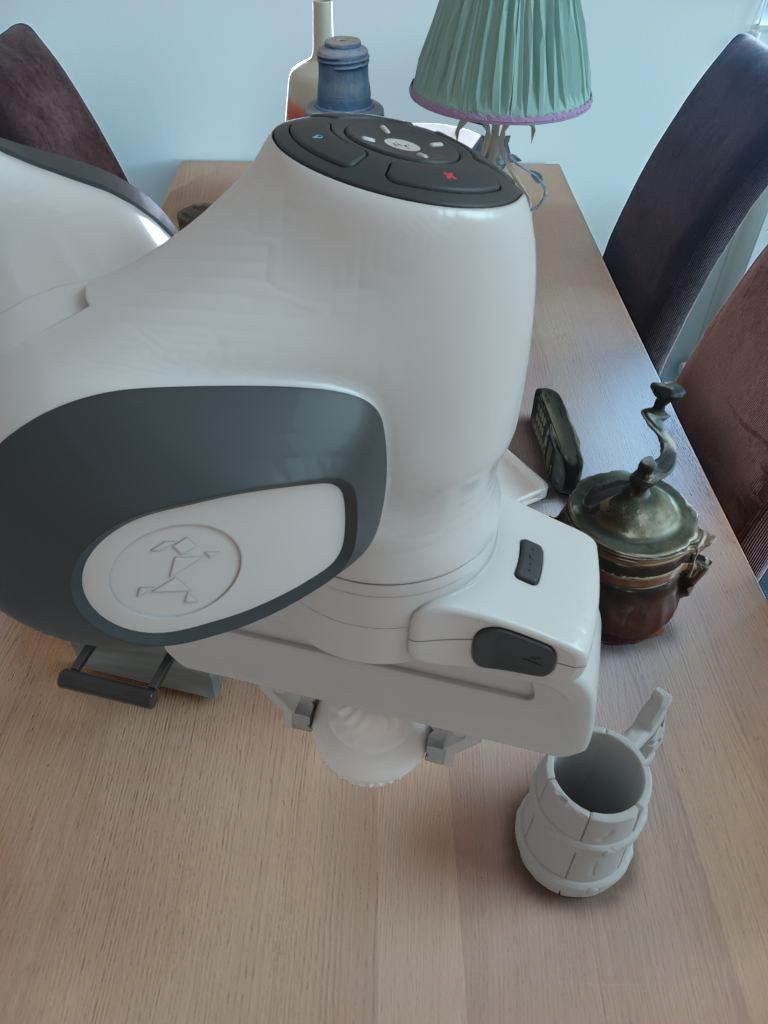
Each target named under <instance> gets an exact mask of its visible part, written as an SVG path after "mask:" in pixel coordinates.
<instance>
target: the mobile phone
mask: <svg viewBox="0 0 768 1024" xmlns="http://www.w3.org/2000/svg"><path fill="white" fill-rule="evenodd" d="M534 391H535V392H534V395H533V400H532V408H531V413H530V424H531V427H532V428H533V430H534V434H535V436H536V440H537V442H538V443H537V444H538V445H539V448H540V451H541V454H542V457H543V462H544V468H545V473H546V475H547V478H548V480H549V482H550V483H551V484H552V485H553V486H554V488H555V490H556V491H557V492H558V493H560V494H565V495H566V494H567V495H569V496H570V495H571V493H572V491H573V490H575V488H576V485H577V483H578V482H579V481H580V480H582V475H583V470H584V458H583V455H582V452H581V441H580V437H579V435H578V433H577V430H576V427H575V425H574V424H573V422H572V420H571V417H570V415H569V411H568V409H567V407H566V405H565V403H564V400H563V398H562V396H561V395H560V394H559V393H558V392H557V391H555V390H554V389H552V388H548V387H538V388H536V389H535V390H534Z"/></svg>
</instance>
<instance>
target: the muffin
mask: <svg viewBox="0 0 768 1024" xmlns="http://www.w3.org/2000/svg"><path fill="white" fill-rule="evenodd" d="M430 731H431V726H428V725H424V724H419V723H415V722H411V721H407V720H403V719H399V718H394V717H390V716H386V715H382V714H378V713H374V712H369V711H365V710H361V709H357V708H353V707H349V706H344V705H340V704H336V703H332V702H328V701H323V700H320V701H319V703H318V705H317V707H316V710H315V713H314V716H313V722H312V732H311V733H312V737H313V738H312V739H313V742H314V744H315V747H316V750H317V752H318V753H319V755H320V757H321V758H322V760H323V761H324V763H325V764H326V765H327V766H328V767H329V770H330V771H331V772H334V773H335V774H337V777H338V778H340V779H343V780H345V781H347V782H348V783H349V784H350V785H354V786H357V787H361V788H363V789H364V788H366V787H368V789H372V788H375V789H378V788H381V787H385V786H388V785H393V783H395V782H397V781H400V780H402V779H403V777H404V776H406V775H409V774H410V773H411V771H413V770H414V769H415V768H416V767H417V766H418V765H419V764H420V762H421V761H422V759H423V758H424V757H425V755H426V747H427V742H428V738H429V734H430Z"/></svg>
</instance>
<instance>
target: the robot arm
mask: <svg viewBox="0 0 768 1024" xmlns="http://www.w3.org/2000/svg"><path fill="white" fill-rule="evenodd" d="M412 123H413V122H411V121H407V120H403V119H399V118H393V117H389V116H384V117H383V116H377V115H370V114H362V113H344V112H328V113H315V114H311V115H310V116H307V117H301V118H296V119H292V120H288V121H285V120H284V121H283V122H282V123H280V124H278V125H276V126H275V127H274V128H273V129H272V130H270V132H269V134H268V135H267V136H266V138H265V140H264V142H263V143H262V145H261V147H260V149H259V151H258V153H257V154H256V157H254V159H253V160H252V161H251V163H250V164H249V166H248V168H246V170H245V171H244V172H243V173H242V174H241V176H240V177H238V178H237V180H236V181H235V182H233V184H232V185H231V186H230V187H229V188H228V189H226V190H225V191H224V192H223V193H222V194H221V195H220V196H219V197H218V198H217V199H216V200H215V201H214V202H213V203H211V204H212V205H211V206H210V207H209V208H208V209H207V210H206V211H205V212H203V213H202V214H201V215H200V216H198V217H197V218H196V219H195V220H194V221H192V222H191V223H190V224H189V225H187V226H186V227H185V228H183V229H182V230H181V231H180V230H179V229H177V226H176V225H175V224H174V223H173V222H172V220H171V219H170V217H169V216H168V215H167V214H166V213H165V212H164V210H163V209H162V208H161V207H160V206H159V205H158V204H157V203H155V201H153V200H152V199H151V198H150V196H148V195H147V194H145V193H144V192H143V191H141V189H140V188H138V187H137V186H134V185H133V184H132V183H130V182H129V181H126V180H125V179H123V178H121V177H119V176H117V175H115V174H113V173H111V172H110V171H107V170H104V169H103V168H100V167H98V166H95V165H92V164H89V163H87V162H84V161H81V160H77V159H75V158H72V157H68V156H65V155H61V154H58V153H54V152H50V151H47V150H44V149H43V150H42V149H39V148H36V147H32V146H29V145H26V144H22V143H19V142H16V141H13V140H10V139H7V138H4V137H1V136H0V612H2V613H3V614H5V615H6V616H8V617H9V618H11V619H13V620H15V621H17V622H18V623H20V624H22V625H24V626H25V627H27V628H30V629H33V630H35V631H37V632H39V633H41V634H45V635H47V636H51V637H55V638H56V639H60V640H63V641H66V642H70V643H71V642H75V643H80V644H85V645H91V646H98V647H107V648H126V649H128V648H150V647H161V646H164V647H165V649H166V651H167V652H168V653H169V654H170V655H171V656H172V657H173V658H174V659H175V660H176V661H177V662H179V663H180V664H181V665H183V666H184V667H187V668H190V669H194V670H198V671H203V672H207V673H211V674H215V675H219V677H224V678H228V679H232V680H236V681H241V682H244V683H248V684H249V683H250V684H253V685H257V686H258V689H259V690H260V691H261V693H263V694H264V695H265V696H266V697H267V698H268V700H270V701H271V702H272V703H273V704H274V705H275V706H276V707H277V708H278V709H279V710H280V711H282V717H283V726H284V727H286V728H290V729H291V728H292V729H296V730H300V731H304V732H309V733H313V732H312V722H313V716H314V713H315V710H316V707H317V705H318V703H319V701H320V700H323V701H328V702H332V703H336V704H340V705H344V706H349V707H353V708H357V709H361V710H365V711H369V712H374V713H378V714H382V715H386V716H390V717H394V718H399V719H403V720H407V721H411V722H415V723H419V724H424V725H428V726H431V731H430V734H429V738H428V742H427V747H426V753H425V755H424V761H426V762H430V763H434V764H438V765H442V766H445V767H449V768H453V767H454V763H455V762H454V761H455V758H456V754H459V753H461V752H463V751H466V750H467V749H469V748H471V747H475V746H477V745H478V744H481V743H482V740H485V741H486V740H487V741H491V742H495V743H499V744H503V745H507V746H512V747H515V748H520V749H523V750H528V751H531V752H535V753H541V754H544V755H546V754H547V755H551V756H556V757H567V756H571V755H574V754H577V753H580V752H583V751H585V750H586V749H587V747H588V745H589V742H590V739H591V736H592V732H593V728H594V726H595V721H596V713H597V704H598V693H599V683H600V681H599V680H600V667H601V648H602V647H601V645H602V641H601V616H600V612H599V593H600V574H599V560H598V551H597V545H596V543H595V541H594V540H593V539H592V538H591V537H590V536H588V535H587V534H585V533H583V532H581V531H579V530H577V529H575V528H573V527H571V526H569V525H566V524H564V523H562V522H560V521H558V520H555V519H553V518H551V517H552V516H551V517H549V516H550V515H547V514H545V513H543V512H541V511H539V510H536V509H535V508H532V507H530V506H529V505H525V504H523V503H521V502H519V501H517V500H515V499H513V498H512V497H510V496H508V495H506V494H505V493H503V492H501V491H500V485H499V479H498V475H497V468H498V464H499V462H500V460H501V458H502V457H503V455H504V453H505V452H506V450H507V449H508V448H509V446H510V444H511V442H512V440H513V437H514V435H515V434H516V430H517V426H518V422H519V417H520V412H521V407H522V401H523V396H524V391H525V385H526V379H527V372H528V367H529V362H530V352H531V347H532V345H531V343H532V337H533V327H534V319H535V318H534V317H535V307H536V294H537V293H536V292H537V249H536V246H537V245H536V246H535V240H536V235H535V230H534V222H533V221H532V220H533V214H532V215H531V211H530V207H529V203H528V201H527V198H526V196H525V194H523V192H522V191H521V190H520V189H519V187H518V186H517V184H516V182H515V180H514V179H513V177H512V176H510V175H509V173H507V172H506V171H504V169H503V170H502V169H501V168H499V167H498V166H497V165H495V164H494V163H493V162H491V161H490V160H489V159H487V158H486V157H484V156H483V155H481V154H480V153H478V152H477V151H475V150H473V149H472V148H470V147H468V146H467V145H465V144H463V143H461V142H459V141H458V140H456V139H454V138H452V137H450V136H448V135H446V134H444V133H442V132H439V131H436V132H435V131H432V130H429V129H426V128H422V127H419V126H416V125H415V126H414V125H413V124H412Z"/></svg>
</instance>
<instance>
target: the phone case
mask: <svg viewBox="0 0 768 1024" xmlns="http://www.w3.org/2000/svg"><path fill="white" fill-rule="evenodd" d="M497 475H498V479H499V485H500V491H501V492H503V493H505V494H506V495H508V496H510V497H512V498H513V499H515V500H517V501H519V502H521V503H523V504H525V505H527V506H529V505H531V504H534V503H536V502H539V501H540V500H542V499H545V498H547V494H548V490H549V484H548V483H547V481H546V480H544V479H543V478H542V477H541V476H540V475H538V473H537V472H535V471H534V470H532V469H531V467H529V466H528V465H527V464H526V463H524V462H523V461H522V460H521V459H520V458H519V457H517V456H516V455H515V454H514V453H513V452H512V451H510V450H509V449H508V448H507V450H506V452H505V453H504V455H503V457H502V458H501V460H500V462H499V464H498V468H497Z"/></svg>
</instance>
